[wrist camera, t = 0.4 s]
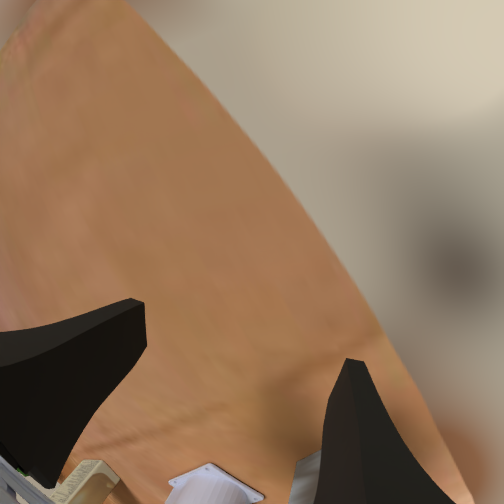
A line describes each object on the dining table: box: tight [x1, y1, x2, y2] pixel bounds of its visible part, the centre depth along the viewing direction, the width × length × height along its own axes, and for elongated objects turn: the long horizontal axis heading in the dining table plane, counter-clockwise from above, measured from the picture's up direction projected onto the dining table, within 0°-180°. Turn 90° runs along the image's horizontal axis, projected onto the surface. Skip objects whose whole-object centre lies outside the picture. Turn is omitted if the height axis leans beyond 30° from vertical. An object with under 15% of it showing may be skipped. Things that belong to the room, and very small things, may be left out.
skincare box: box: [49, 460, 120, 504], centre depth 28 cm, size 6×4×12 cm
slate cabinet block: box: [288, 450, 321, 504], centre depth 20 cm, size 5×4×6 cm
